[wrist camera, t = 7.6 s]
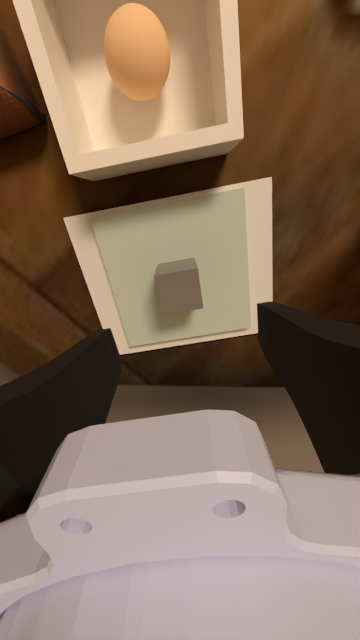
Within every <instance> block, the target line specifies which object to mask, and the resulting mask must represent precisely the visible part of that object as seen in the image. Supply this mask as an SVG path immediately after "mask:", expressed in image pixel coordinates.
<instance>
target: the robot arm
mask: <svg viewBox="0 0 360 640" xmlns="http://www.w3.org/2000/svg"><path fill="white" fill-rule="evenodd" d="M257 319H258V341H259V343H260V346H261V348H262V350H263V353H264V355H265V357H266V358H267V360H268V362H269V363H270V365H271V367H272V368H273V370H274V371H275V373H276V375H277V376H278V378H279V379H280V381H281V382H282V384H283V386H284V387H285V389H286V390H287V392H288V394H289V395H290V397H291V399H292V401H293V403H294V405H295V407H296V409H297V411H298V413H299V415H300V417H301V419H302V422H303V423H304V426H305V428H306V430H307V433H308V435H309V437H310V439H311V441H312V444H313V446H314V448H315V451H316V453H317V455H318V458H319V460H320V462H321V465H322V467H323V469H324V472H325V473H321V472H312V471H301V470H292V469H282V468H274V466H273V464H272V461H271V459H270V456H269V453H268V450H267V448H266V445H265V442H264V440H263V437H262V435H261V433H260V431H259V429H258V427H257V425H256V422H254V421H252V420H250V419H248V418H246V417H245V416H243V415H241V414H239V413H237V412H235V411H228V410H208V409H207V410H199V411H192V412H184V413H177V414H171V415H163V416H156V417H149V418H142V419H135V420H129V421H120V422H114V423H106V424H105V422H106V418H107V415H108V412H109V409H110V406H111V403H112V400H113V397H114V394H115V391H116V388H117V385H118V382H119V378H120V373H121V366H122V360H121V357H120V354H119V351H118V348H117V345H116V343H115V340H114V337H113V334H112V331H111V328H108V329H102V330H98V331H95V332H94V333H92V334H90V335H89V336H87V337H86V338H84V339H83V340H81V341H80V342H78V343H77V344H75V345H74V346H72V347H71V348H70V349H68V350H67V351H65V352H63V353H62V354H60V355H59V356H57V357H56V358H54V359H53V360H51V361H49V362H48V363H46V364H44V365H43V366H41V367H39V368H37V369H35V370H33V371H32V372H30V373H28V374H26V375H24V376H22V377H19V378H17V379H15V380H13V381H11V382H9V383H7V384H4V385H2V386H0V640H360V325H358V324H352V323H346V322H341V321H336V320H332V319H327V318H324V317H320V316H316V315H313V314H309V313H306V312H303V311H300V310H297V309H294V308H291V307H288V306H285V305H282V304H279V303H275V302H271V301H269V302H263V303H257Z"/></svg>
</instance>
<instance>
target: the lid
mask: <svg viewBox="0 0 360 640" xmlns="http://www.w3.org/2000/svg"><path fill="white" fill-rule="evenodd" d="M90 220H91V223H92V227H93V230H94V233H95V236H96V239H97V243H98V246H99V249H100V252H101V255H102V259H103V262H104V265H105V268H106V272H107V275H108V278H109V281H110V284H111V288H112V291H113V294H114V297H115V300H116V304H117V307H118V310H119V313H120V316H121V320H122V323H123V326H124V329H125V333H126V336H127V339H128V342H129V345H130V347H132V346H138V345H144V344H151V343H157V342H163V341H170V340H176V339H182V338H189V337H195V336H201V335H208V334H214V333H221V332H227V331H233V330H240V329H246V328H251V315H250V294H249V273H248V251H247V230H246V209H245V188H239V189H233V190H228V191H223V192H218V193H213V194H208V195H202V196H197V197H192V198H187V199H182V200H176V201H171V202H166V203H161V204H156V205H151V206H145V207H140V208H135V209H130V210H125V211H119V212H114V213H109V214H104V215H99V216H94V217H90Z"/></svg>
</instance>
